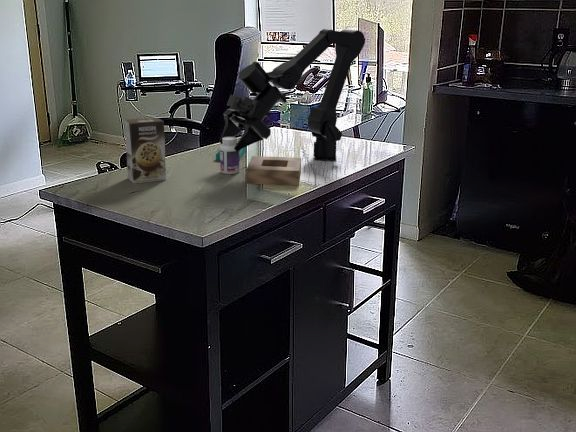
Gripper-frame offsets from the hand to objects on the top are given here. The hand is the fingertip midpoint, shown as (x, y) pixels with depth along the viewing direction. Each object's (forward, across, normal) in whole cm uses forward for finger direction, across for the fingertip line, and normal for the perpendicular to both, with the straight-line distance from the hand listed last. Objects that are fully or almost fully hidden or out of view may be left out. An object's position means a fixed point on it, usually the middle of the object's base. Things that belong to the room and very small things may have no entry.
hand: (227, 146), depth 178 cm
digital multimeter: (-1, -17, +13) cm, 21 cm away
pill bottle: (+5, 0, +6) cm, 8 cm away
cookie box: (+21, -4, -10) cm, 24 cm away
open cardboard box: (-1, +11, +12) cm, 16 cm away
